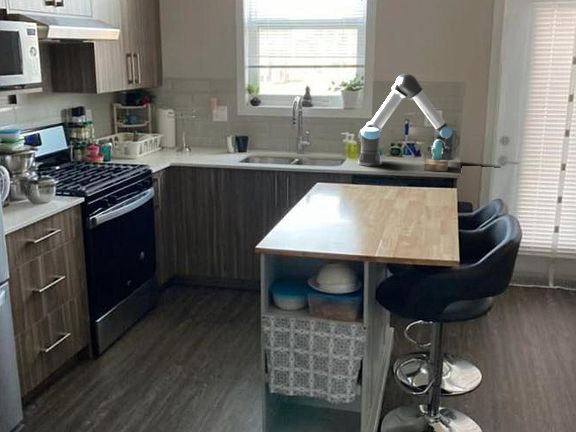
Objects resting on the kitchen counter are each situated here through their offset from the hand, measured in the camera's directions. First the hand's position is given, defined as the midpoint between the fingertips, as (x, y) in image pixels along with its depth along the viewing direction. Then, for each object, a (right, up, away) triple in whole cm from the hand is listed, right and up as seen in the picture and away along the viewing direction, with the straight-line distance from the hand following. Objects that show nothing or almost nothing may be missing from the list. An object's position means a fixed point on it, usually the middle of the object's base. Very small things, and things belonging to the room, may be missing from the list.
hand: (437, 151), depth 398 cm
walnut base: (+1, -10, +8) cm, 13 cm away
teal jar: (+1, -5, +6) cm, 8 cm away
